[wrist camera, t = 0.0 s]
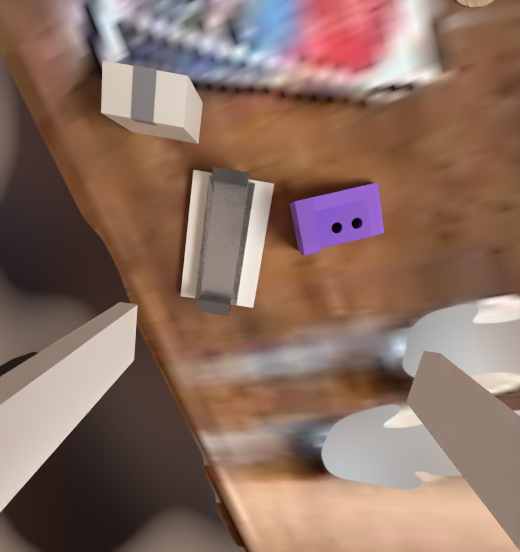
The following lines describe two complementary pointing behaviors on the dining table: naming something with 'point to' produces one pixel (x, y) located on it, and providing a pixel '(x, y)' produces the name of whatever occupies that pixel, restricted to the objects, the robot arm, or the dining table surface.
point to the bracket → (336, 218)
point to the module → (151, 101)
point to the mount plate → (252, 245)
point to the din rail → (223, 240)
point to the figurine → (473, 2)
